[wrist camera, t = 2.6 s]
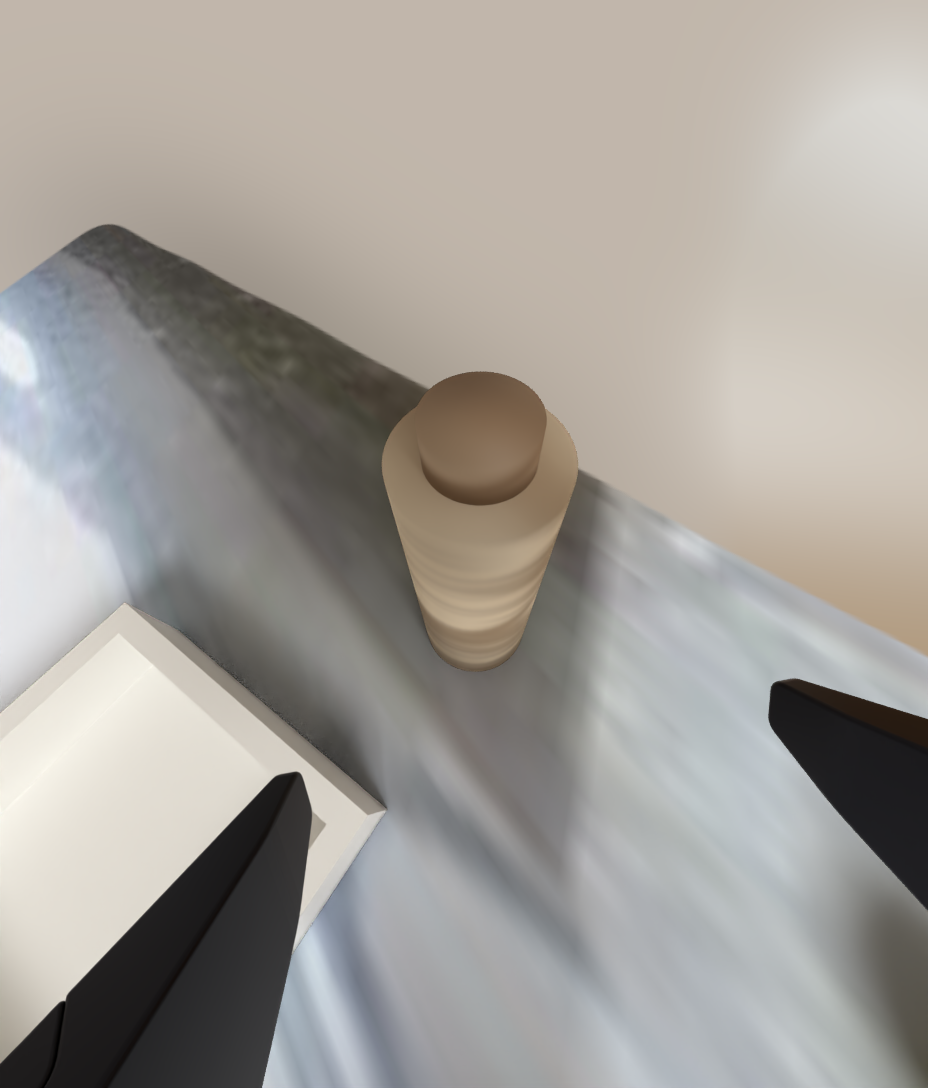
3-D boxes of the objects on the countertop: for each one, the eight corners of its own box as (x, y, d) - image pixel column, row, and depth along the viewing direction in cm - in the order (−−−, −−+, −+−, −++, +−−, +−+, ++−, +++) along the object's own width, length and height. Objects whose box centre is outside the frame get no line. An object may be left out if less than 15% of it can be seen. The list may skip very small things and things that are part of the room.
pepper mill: (489, 692, 21) (518, 550, 8) (407, 635, 22) (323, 439, 10) (540, 610, 23) (628, 394, 10) (462, 563, 24) (453, 321, 11)
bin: (89, 1262, 13) (-53, 1442, 9) (-117, 918, 17) (-272, 953, 13) (387, 809, 18) (367, 815, 15) (178, 630, 22) (125, 602, 19)
